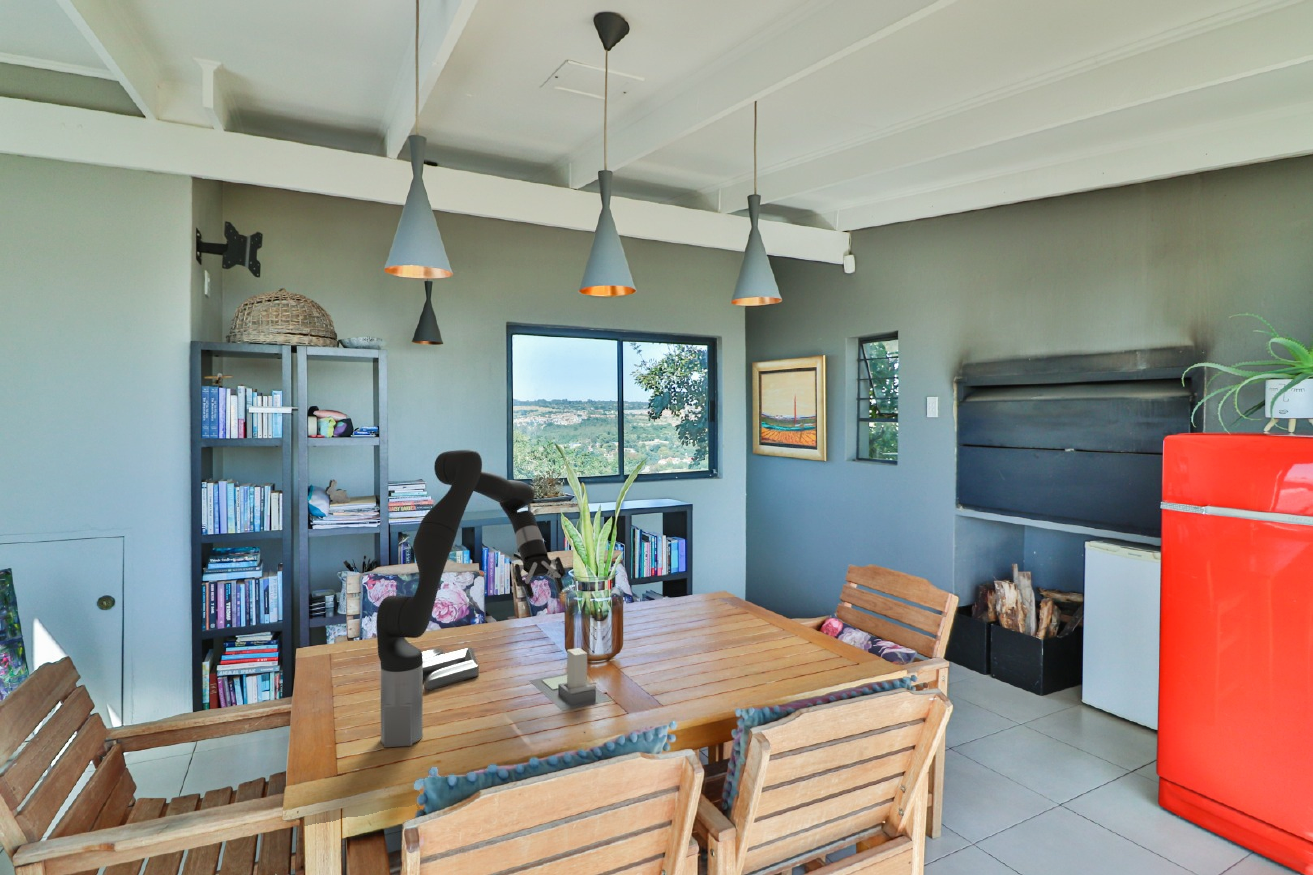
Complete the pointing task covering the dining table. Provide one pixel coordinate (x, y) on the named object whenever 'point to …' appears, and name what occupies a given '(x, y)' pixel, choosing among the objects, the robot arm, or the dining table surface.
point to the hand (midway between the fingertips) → (546, 594)
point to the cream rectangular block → (576, 668)
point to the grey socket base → (568, 692)
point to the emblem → (448, 667)
